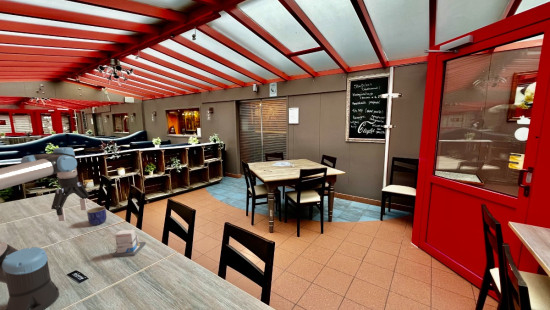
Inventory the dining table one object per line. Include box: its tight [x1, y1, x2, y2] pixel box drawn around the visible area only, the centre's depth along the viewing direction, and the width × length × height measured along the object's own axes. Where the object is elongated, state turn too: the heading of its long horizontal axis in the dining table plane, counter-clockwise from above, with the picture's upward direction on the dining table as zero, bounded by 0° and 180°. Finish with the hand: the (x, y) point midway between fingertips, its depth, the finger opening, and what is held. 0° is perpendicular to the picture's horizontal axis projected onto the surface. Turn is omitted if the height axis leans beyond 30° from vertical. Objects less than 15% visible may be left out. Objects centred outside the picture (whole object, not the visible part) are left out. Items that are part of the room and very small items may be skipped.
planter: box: [86, 206, 108, 226], centre depth 163 cm, size 11×11×11 cm
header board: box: [112, 234, 147, 258], centre depth 129 cm, size 12×12×8 cm
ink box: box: [114, 229, 137, 253], centre depth 126 cm, size 9×5×12 cm, turn 100°
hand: (73, 214), depth 117 cm, fingers open, 13 cm apart
